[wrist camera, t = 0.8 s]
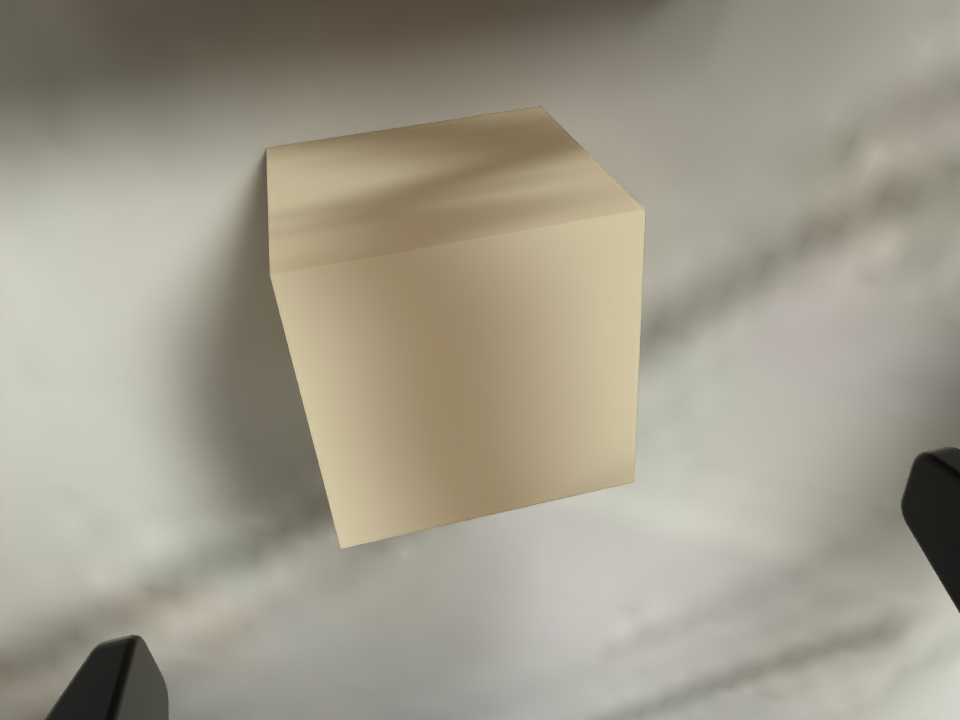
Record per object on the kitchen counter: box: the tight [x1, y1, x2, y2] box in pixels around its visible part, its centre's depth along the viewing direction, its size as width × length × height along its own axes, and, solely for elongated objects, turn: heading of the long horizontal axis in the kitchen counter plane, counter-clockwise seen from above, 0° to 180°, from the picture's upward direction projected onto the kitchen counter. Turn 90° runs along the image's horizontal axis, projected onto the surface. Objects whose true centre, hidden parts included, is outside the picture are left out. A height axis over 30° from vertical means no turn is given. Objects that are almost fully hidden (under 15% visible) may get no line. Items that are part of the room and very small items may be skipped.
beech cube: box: [266, 106, 645, 549], centre depth 14 cm, size 5×5×5 cm
